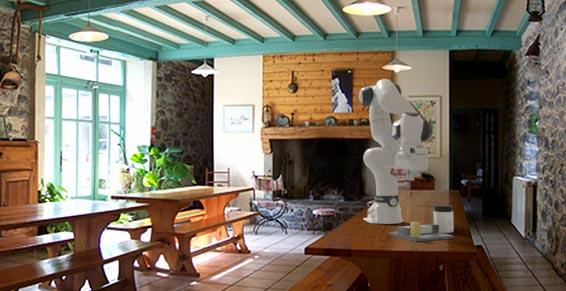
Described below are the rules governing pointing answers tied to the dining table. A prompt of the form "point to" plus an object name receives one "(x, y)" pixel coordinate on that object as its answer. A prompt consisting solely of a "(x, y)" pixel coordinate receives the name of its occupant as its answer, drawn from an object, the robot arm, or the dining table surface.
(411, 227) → the lock tab
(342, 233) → the dining table surface
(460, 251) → the dining table surface
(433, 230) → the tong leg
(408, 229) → the tongs base
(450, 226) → the jar
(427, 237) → the slate board
